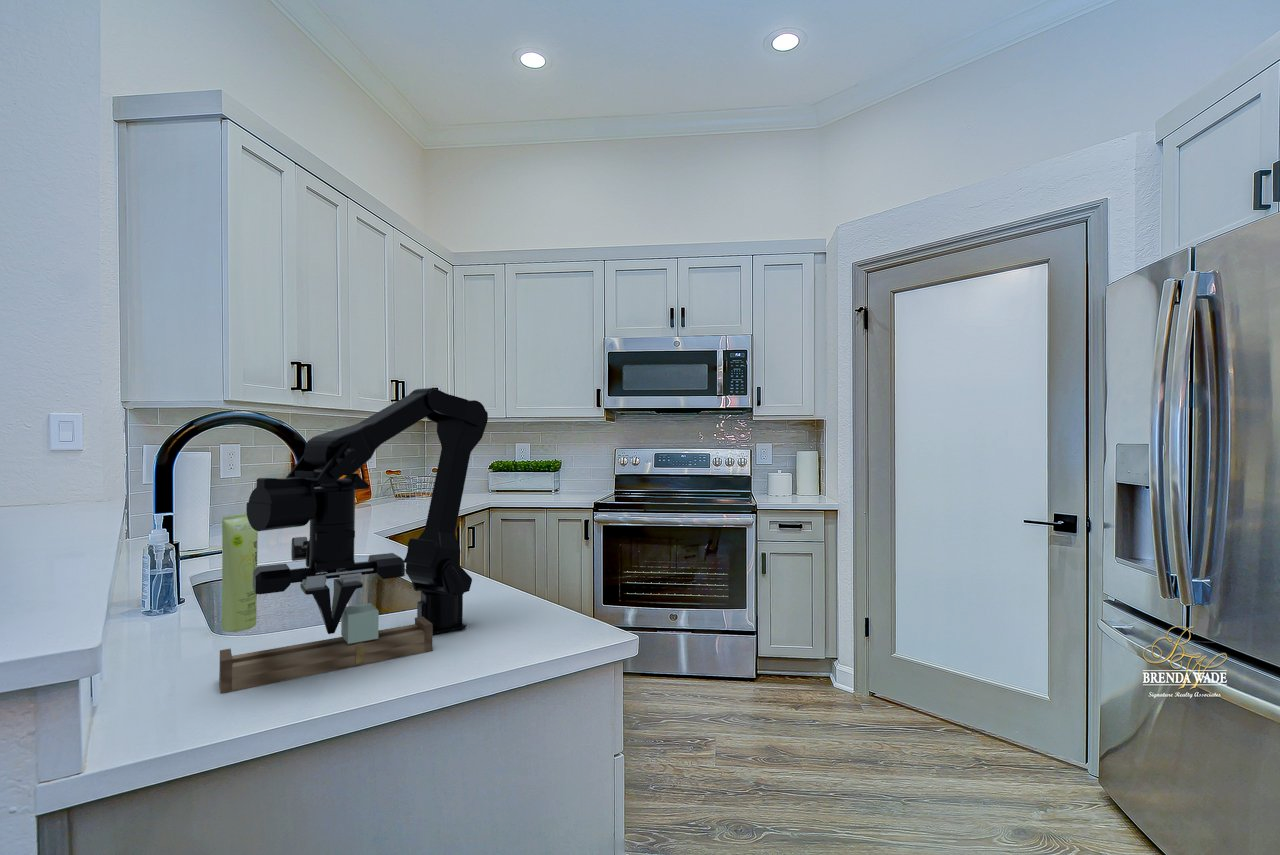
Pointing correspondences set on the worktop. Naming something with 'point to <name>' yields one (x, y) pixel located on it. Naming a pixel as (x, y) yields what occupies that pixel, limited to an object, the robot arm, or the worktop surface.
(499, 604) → the worktop surface
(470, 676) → the worktop surface
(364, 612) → the block
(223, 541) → the tube
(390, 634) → the rail
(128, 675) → the worktop surface
